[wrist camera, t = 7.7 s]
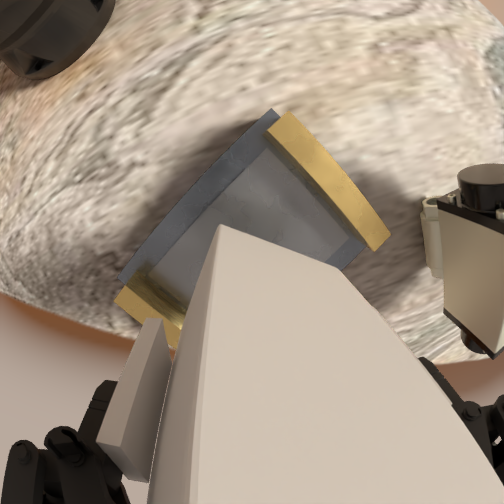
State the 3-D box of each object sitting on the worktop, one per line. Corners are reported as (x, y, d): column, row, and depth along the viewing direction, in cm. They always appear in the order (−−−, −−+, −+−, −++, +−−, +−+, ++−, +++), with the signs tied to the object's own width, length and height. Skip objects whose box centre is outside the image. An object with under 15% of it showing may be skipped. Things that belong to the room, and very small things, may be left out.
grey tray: (133, 257, 27) (103, 293, 19) (263, 117, 23) (277, 100, 16) (255, 352, 32) (262, 401, 24) (375, 245, 28) (416, 273, 21)
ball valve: (457, 275, 31) (539, 337, 14) (415, 301, 31) (497, 383, 15) (442, 152, 25) (563, 172, 8) (393, 170, 25) (532, 201, 9)
